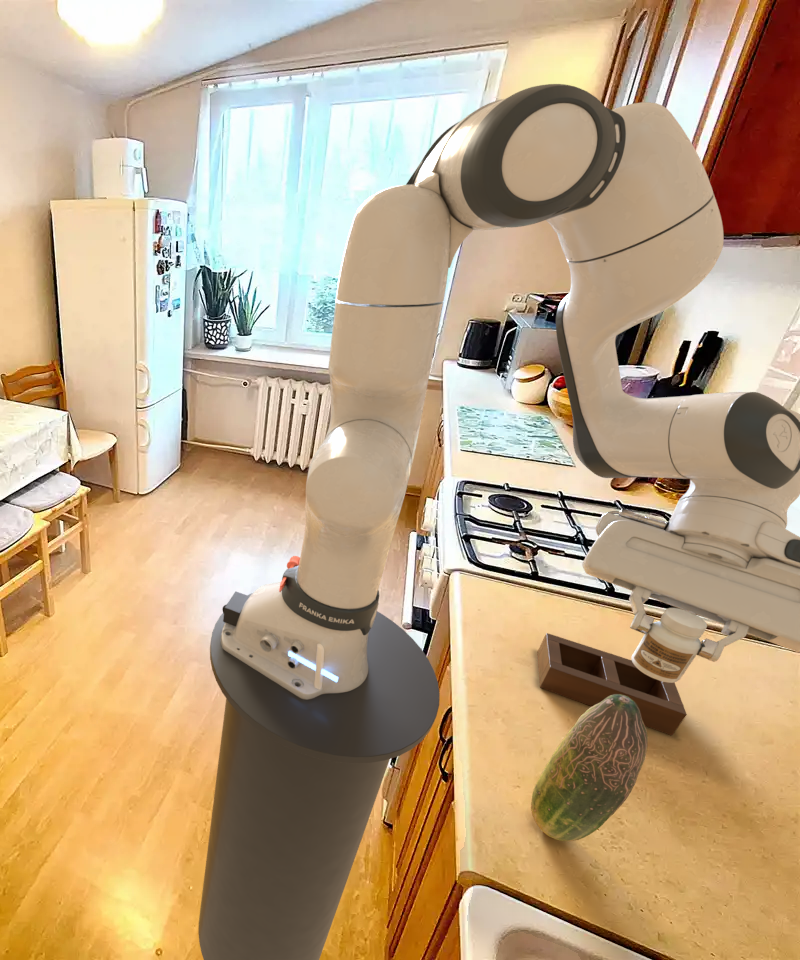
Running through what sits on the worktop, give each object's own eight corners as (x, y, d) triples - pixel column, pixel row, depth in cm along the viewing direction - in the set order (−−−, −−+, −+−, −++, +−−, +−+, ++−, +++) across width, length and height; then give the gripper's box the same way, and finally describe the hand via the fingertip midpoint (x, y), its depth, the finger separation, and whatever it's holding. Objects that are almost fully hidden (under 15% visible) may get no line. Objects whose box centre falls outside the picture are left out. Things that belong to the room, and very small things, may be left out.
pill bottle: (626, 667, 60) (656, 615, 57) (634, 649, 63) (663, 599, 59) (676, 690, 57) (711, 638, 54) (682, 671, 60) (716, 619, 57)
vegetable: (521, 787, 60) (590, 662, 51) (586, 819, 57) (672, 691, 48) (519, 833, 56) (595, 704, 47) (591, 869, 53) (687, 739, 44)
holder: (672, 735, 67) (687, 714, 65) (539, 687, 74) (550, 667, 72) (657, 693, 73) (671, 672, 72) (536, 652, 80) (546, 632, 78)
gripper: (611, 494, 64) (564, 592, 62) (870, 568, 51) (821, 694, 49) (602, 513, 69) (558, 604, 67) (836, 585, 56) (790, 700, 54)
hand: (671, 643), depth 58 cm, fingers closed on pill bottle, 4 cm apart
